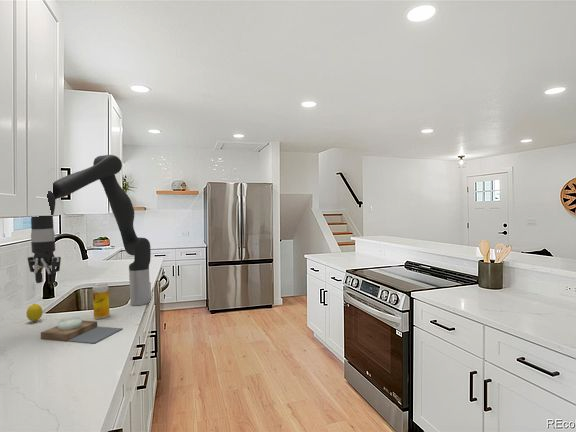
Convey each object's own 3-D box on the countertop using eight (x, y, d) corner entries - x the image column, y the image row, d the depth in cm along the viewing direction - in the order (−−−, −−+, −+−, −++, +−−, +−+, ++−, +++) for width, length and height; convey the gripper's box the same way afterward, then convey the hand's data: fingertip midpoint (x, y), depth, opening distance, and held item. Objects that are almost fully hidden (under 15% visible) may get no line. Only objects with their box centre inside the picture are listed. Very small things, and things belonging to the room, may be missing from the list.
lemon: (34, 324, 140) (33, 305, 140) (23, 323, 141) (22, 305, 141) (46, 319, 146) (45, 301, 145) (35, 319, 147) (34, 301, 146)
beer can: (90, 318, 146) (89, 284, 146) (104, 314, 151) (102, 281, 151) (99, 320, 143) (97, 286, 143) (112, 316, 149) (111, 282, 148)
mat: (98, 327, 135) (98, 326, 135) (122, 329, 132) (122, 328, 132) (67, 341, 121) (67, 340, 121) (94, 343, 118) (94, 342, 118)
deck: (73, 325, 138) (72, 319, 138) (97, 327, 135) (97, 321, 135) (40, 339, 124) (40, 332, 124) (67, 341, 121) (66, 334, 121)
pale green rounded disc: (70, 322, 134) (70, 316, 134) (87, 323, 132) (86, 317, 132) (52, 329, 126) (52, 323, 126) (69, 331, 125) (69, 324, 124)
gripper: (66, 239, 133) (68, 281, 133) (37, 239, 136) (39, 280, 137) (49, 241, 125) (51, 285, 126) (19, 241, 129) (21, 284, 129)
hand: (45, 282), depth 131 cm, fingers open, 5 cm apart
